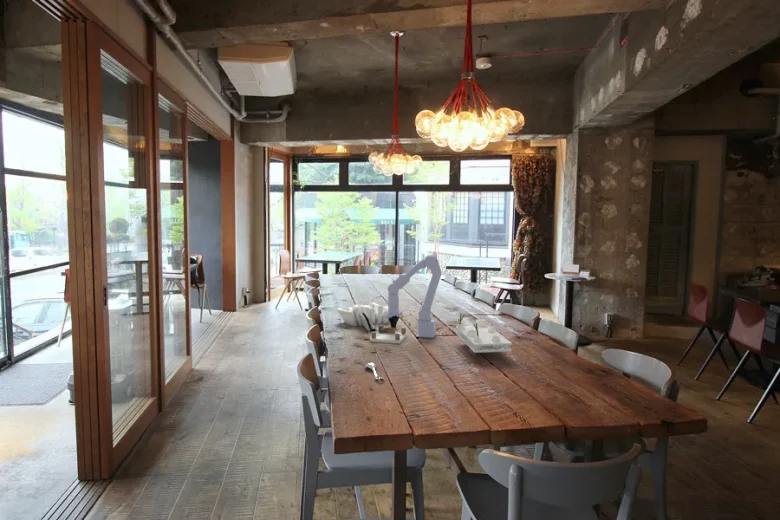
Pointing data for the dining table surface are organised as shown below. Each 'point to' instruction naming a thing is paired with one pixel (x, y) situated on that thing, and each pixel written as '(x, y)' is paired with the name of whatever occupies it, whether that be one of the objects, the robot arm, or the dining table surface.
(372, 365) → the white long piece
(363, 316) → the hinge
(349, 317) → the wavy white extrusion
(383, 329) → the hammer
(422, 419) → the dining table surface
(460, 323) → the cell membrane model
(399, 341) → the stool seat
